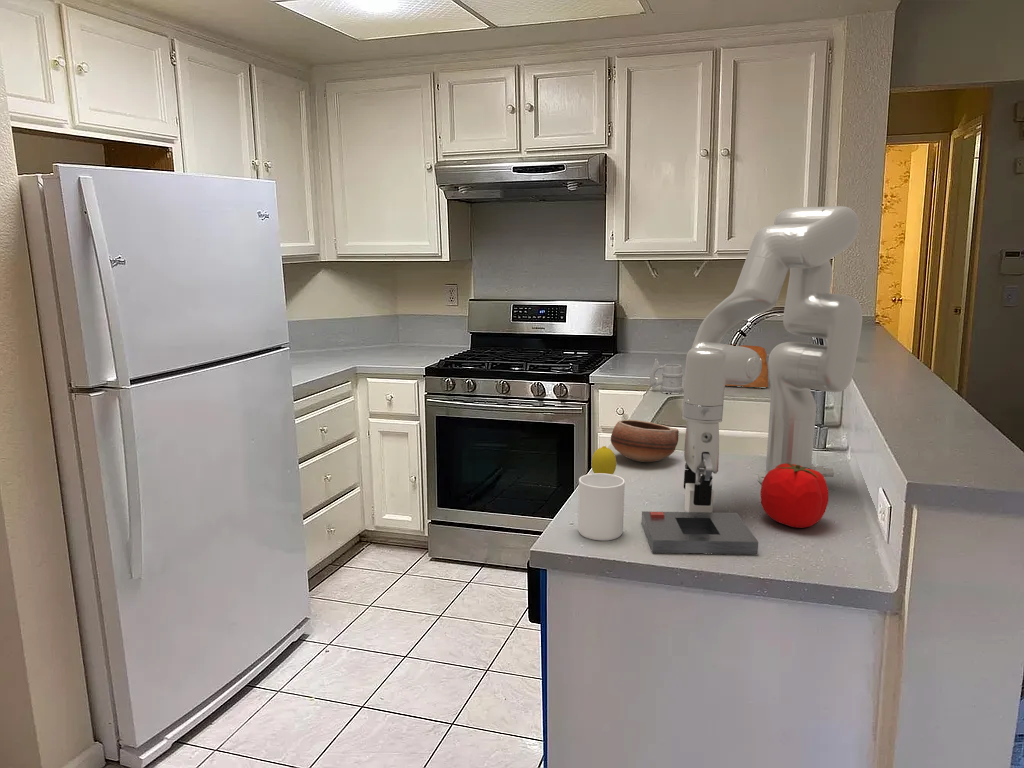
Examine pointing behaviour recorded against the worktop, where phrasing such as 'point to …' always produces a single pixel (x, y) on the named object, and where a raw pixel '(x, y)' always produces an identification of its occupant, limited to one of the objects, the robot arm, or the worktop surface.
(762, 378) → the bread
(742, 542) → the socket
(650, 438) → the bowl
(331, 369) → the worktop surface
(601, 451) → the lemon
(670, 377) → the mug
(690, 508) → the plug
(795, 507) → the tomato
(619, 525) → the cup
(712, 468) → the robot arm
